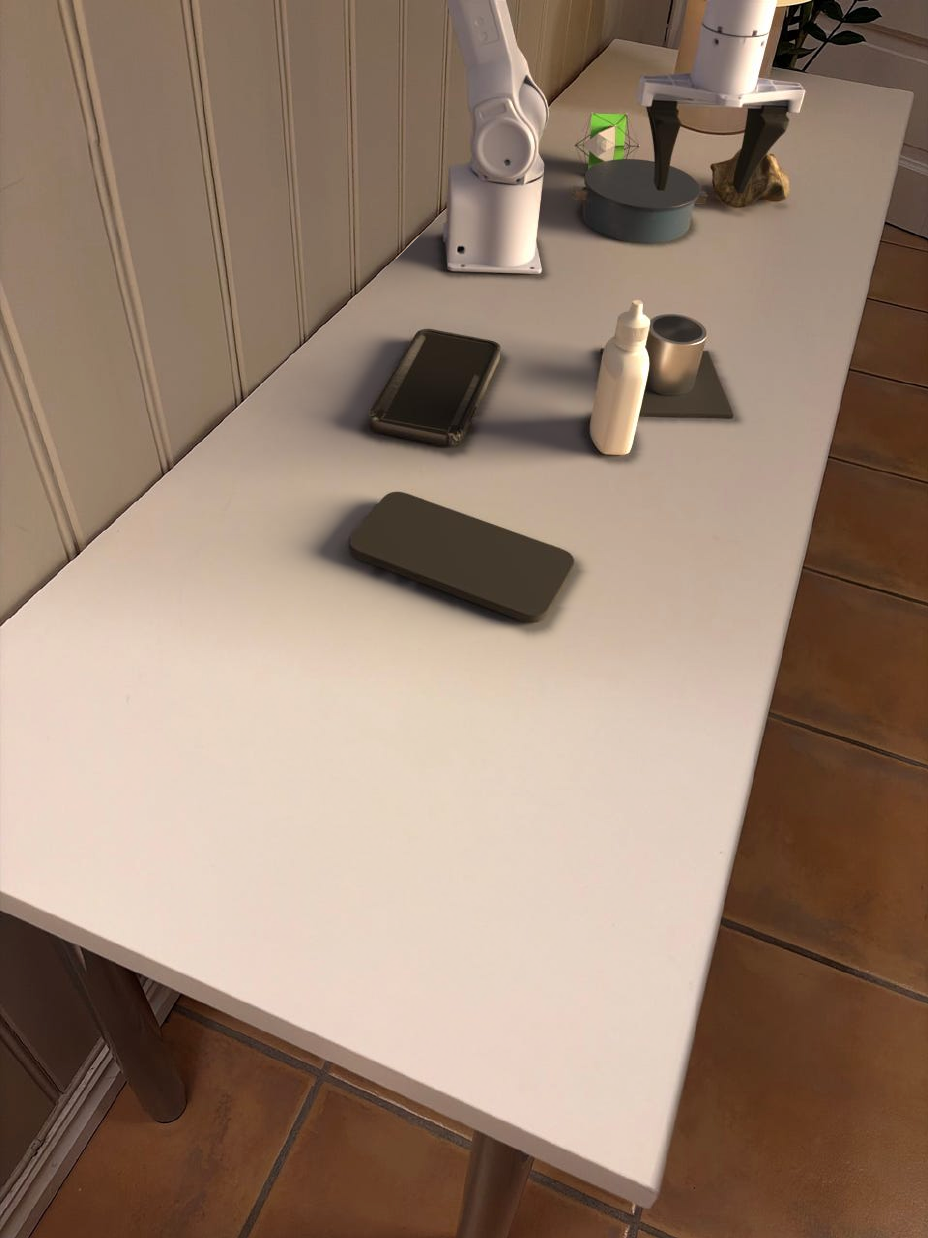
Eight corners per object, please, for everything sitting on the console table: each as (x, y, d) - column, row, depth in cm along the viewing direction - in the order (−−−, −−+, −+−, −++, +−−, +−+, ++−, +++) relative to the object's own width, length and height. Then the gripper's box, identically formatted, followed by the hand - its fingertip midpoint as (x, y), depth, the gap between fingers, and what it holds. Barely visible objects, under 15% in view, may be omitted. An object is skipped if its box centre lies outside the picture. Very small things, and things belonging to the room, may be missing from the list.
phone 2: (540, 621, 65) (341, 546, 68) (538, 630, 65) (341, 554, 69) (579, 554, 69) (391, 486, 73) (577, 562, 70) (391, 495, 74)
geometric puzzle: (569, 136, 119) (584, 94, 111) (624, 137, 120) (642, 95, 112) (572, 192, 118) (587, 153, 110) (628, 192, 119) (647, 154, 111)
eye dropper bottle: (573, 446, 79) (596, 310, 71) (598, 411, 83) (622, 278, 74) (623, 463, 78) (653, 327, 70) (646, 427, 82) (677, 294, 73)
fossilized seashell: (777, 160, 117) (695, 175, 116) (795, 122, 110) (708, 138, 110) (793, 216, 115) (710, 232, 115) (812, 181, 109) (724, 197, 109)
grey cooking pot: (577, 242, 105) (583, 204, 102) (564, 191, 113) (568, 156, 110) (711, 246, 106) (721, 210, 103) (688, 196, 114) (696, 161, 111)
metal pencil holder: (641, 394, 84) (652, 343, 81) (633, 363, 88) (644, 312, 84) (698, 397, 85) (712, 345, 81) (688, 365, 88) (701, 314, 84)
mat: (616, 415, 83) (617, 411, 82) (600, 351, 90) (600, 347, 89) (732, 418, 84) (733, 414, 83) (707, 354, 90) (708, 350, 90)
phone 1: (365, 418, 78) (419, 326, 88) (365, 430, 79) (419, 337, 89) (460, 438, 77) (504, 342, 87) (459, 449, 78) (503, 353, 88)
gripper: (660, 37, 80) (630, 202, 90) (832, 45, 81) (784, 208, 91) (645, 11, 85) (618, 171, 95) (808, 19, 86) (765, 176, 96)
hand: (698, 187), depth 93 cm, fingers open, 7 cm apart
